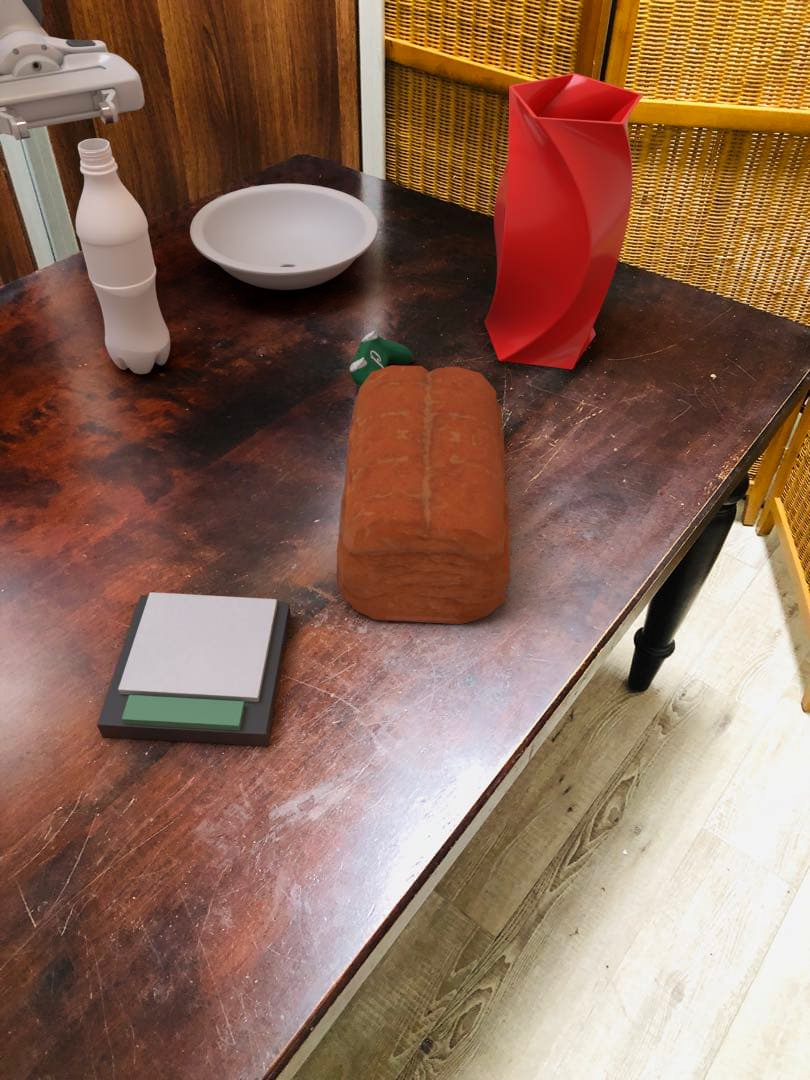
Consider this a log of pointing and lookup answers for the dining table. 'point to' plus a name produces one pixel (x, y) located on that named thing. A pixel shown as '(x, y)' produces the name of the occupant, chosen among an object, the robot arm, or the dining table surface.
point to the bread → (425, 498)
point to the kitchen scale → (198, 670)
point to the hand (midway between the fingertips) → (66, 123)
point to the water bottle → (120, 262)
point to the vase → (559, 216)
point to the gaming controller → (377, 356)
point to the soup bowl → (284, 234)
